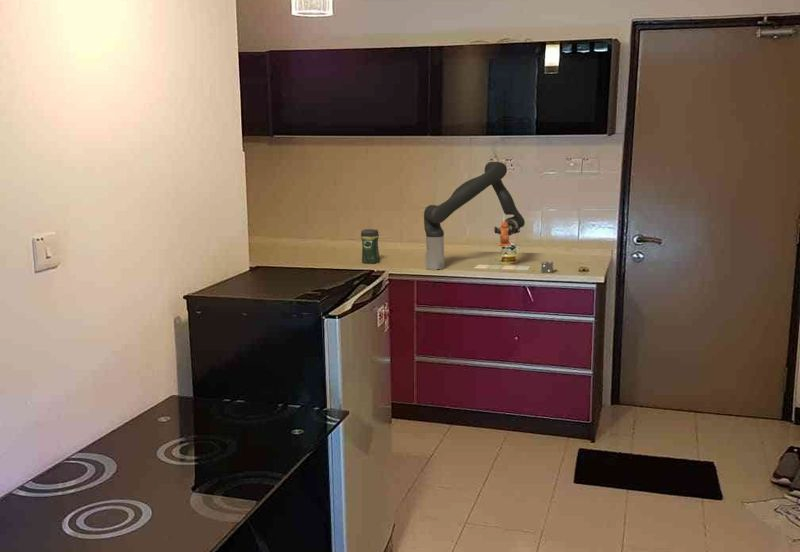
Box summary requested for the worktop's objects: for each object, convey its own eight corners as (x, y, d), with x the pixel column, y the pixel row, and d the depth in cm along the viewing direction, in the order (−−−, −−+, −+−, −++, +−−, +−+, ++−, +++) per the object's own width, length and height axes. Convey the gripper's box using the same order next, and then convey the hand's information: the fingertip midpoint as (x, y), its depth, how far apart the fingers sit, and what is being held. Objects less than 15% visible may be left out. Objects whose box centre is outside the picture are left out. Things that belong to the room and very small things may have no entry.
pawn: (497, 246, 389) (497, 222, 386) (499, 244, 394) (499, 220, 392) (509, 246, 387) (509, 222, 384) (511, 244, 393) (511, 220, 390)
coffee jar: (381, 261, 426) (380, 228, 422) (376, 264, 419) (375, 230, 415) (365, 260, 429) (364, 228, 426) (360, 263, 422) (358, 230, 418)
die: (541, 273, 384) (541, 263, 383) (542, 271, 388) (542, 261, 387) (551, 273, 382) (551, 263, 381) (552, 271, 387) (552, 261, 386)
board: (472, 271, 392) (472, 268, 392) (477, 266, 403) (477, 264, 403) (528, 273, 383) (528, 270, 383) (532, 268, 394) (532, 265, 394)
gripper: (496, 220, 404) (489, 224, 388) (523, 220, 400) (517, 225, 384) (496, 234, 405) (489, 239, 390) (523, 234, 401) (517, 240, 385)
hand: (503, 232), depth 387 cm, fingers closed on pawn, 4 cm apart
